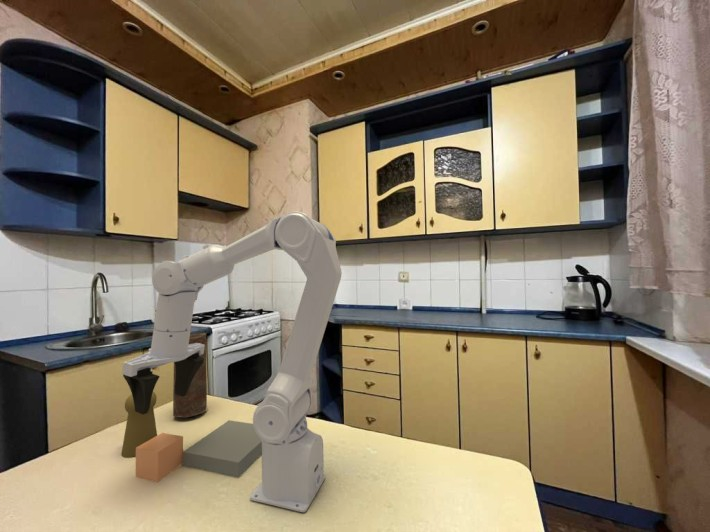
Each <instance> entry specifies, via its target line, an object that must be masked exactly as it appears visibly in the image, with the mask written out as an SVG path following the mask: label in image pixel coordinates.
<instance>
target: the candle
mask: <svg viewBox="0 0 710 532" xmlns="http://www.w3.org/2000/svg"><path fill="white" fill-rule="evenodd" d="M195 343H200V344H204V345H205V347H204V354H202V355H199V356H200V357H203V358H204V363H203V364H202V365H201V367H200V368H199V369H198V371H197V372H196V374H195V376H194V378H193V380H192V382H191V384H190V386H189V389H188V391H187V394H186V395H185V396H180V395H177V394H175V380H176V368H175V362H173V384H172V386H173V390H172V391H173V395H172V398H173V399H172V401H173V402H172V405H173V406H172V410H173V411H172V416H173V417H175V418H190V417H194V416H198V415H201V414H204V413H206V412H207V411H208V407H207V406H208V404H207V403H208V399H207V398H208V397H207V396H208V388H207V387H208V386H207V385H208V384H207V378H208V377H207V333H206V332H203V333H193V334H191V333H190V337H189V344H195ZM189 344H188V345H189ZM206 410H207V411H206Z"/></svg>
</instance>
